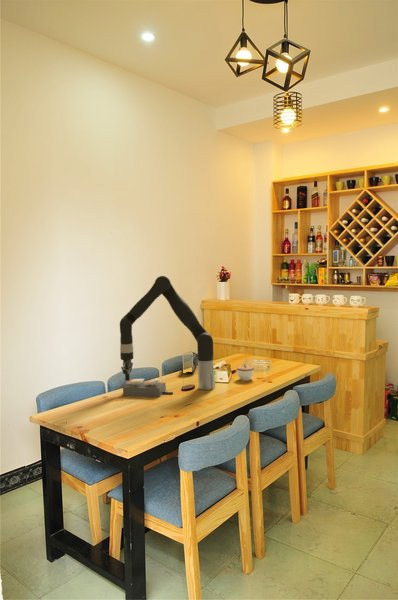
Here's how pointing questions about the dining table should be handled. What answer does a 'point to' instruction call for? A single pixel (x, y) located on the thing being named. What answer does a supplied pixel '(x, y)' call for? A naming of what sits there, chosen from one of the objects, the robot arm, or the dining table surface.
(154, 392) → the switch box
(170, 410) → the dining table surface
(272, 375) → the dining table surface
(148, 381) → the rocker inner
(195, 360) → the clear pitcher
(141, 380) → the rocker outer
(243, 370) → the lidded jar
